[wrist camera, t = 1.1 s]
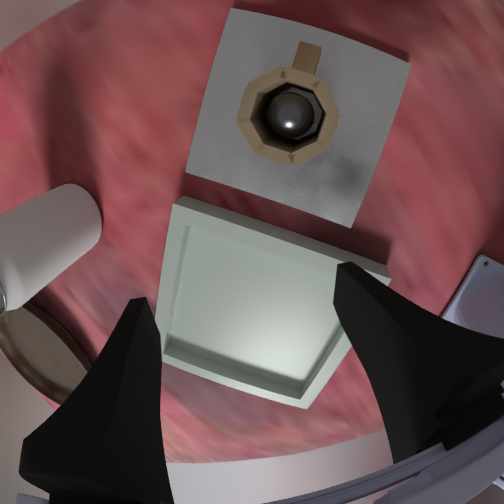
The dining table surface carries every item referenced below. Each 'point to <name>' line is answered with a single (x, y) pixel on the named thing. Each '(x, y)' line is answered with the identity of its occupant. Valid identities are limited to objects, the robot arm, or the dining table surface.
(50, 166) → the dining table surface
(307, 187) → the square base plate
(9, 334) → the plant saucer
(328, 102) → the sleeve
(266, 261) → the tray
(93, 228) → the can
